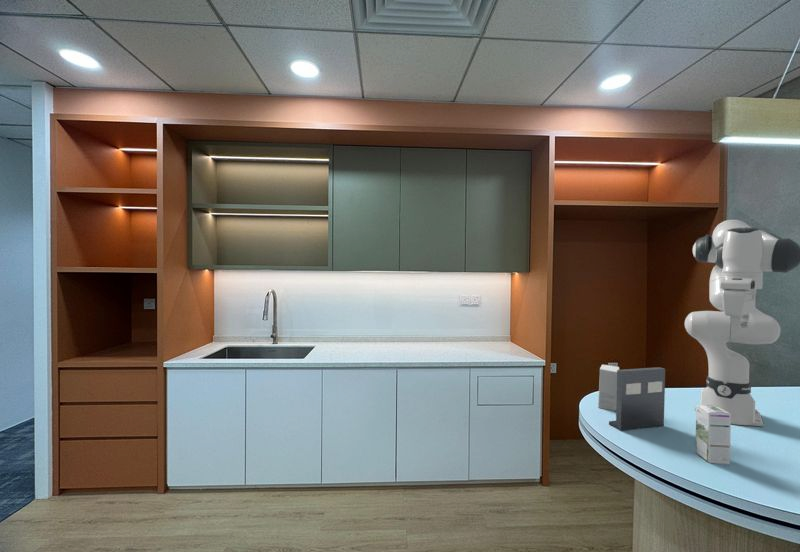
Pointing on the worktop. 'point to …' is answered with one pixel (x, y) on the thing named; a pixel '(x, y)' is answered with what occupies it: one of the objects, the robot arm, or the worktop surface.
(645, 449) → the worktop surface
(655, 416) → the label panel
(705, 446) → the syrup box
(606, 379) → the skincare box
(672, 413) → the worktop surface
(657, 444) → the worktop surface
